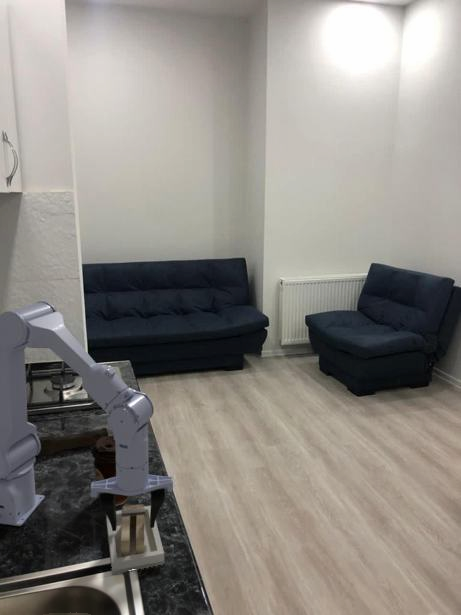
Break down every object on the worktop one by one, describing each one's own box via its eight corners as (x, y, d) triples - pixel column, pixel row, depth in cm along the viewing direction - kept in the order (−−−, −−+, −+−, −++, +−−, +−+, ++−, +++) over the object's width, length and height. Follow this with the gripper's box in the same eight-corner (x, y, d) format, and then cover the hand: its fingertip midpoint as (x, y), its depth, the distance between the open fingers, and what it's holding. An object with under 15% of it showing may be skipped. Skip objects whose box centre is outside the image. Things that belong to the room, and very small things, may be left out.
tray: (164, 564, 90) (164, 553, 89) (112, 575, 87) (111, 563, 86) (151, 515, 103) (151, 505, 102) (106, 523, 100) (106, 512, 99)
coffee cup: (92, 512, 103) (90, 455, 100) (92, 489, 111) (89, 435, 107) (135, 506, 105) (134, 450, 102) (132, 484, 113) (131, 431, 110)
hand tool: (106, 438, 133) (106, 422, 131) (109, 446, 129) (109, 429, 128) (29, 452, 125) (28, 435, 124) (30, 460, 122) (28, 442, 120)
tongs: (122, 523, 99) (121, 504, 98) (145, 521, 99) (145, 502, 98) (120, 560, 89) (119, 539, 88) (145, 558, 90) (145, 537, 89)
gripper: (171, 446, 96) (171, 509, 99) (92, 451, 93) (95, 515, 96) (173, 467, 89) (173, 533, 92) (88, 472, 86) (91, 540, 90)
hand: (133, 525), depth 94 cm, fingers open, 6 cm apart
